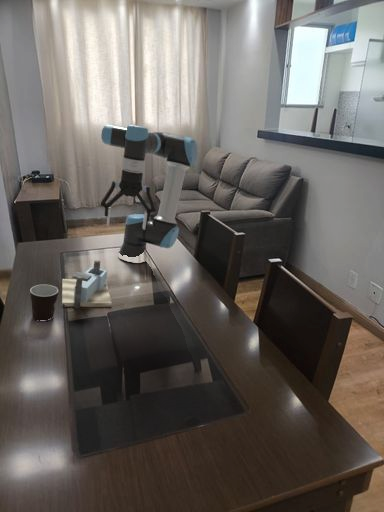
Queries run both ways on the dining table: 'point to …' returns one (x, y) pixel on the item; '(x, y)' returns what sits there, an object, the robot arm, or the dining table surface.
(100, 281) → the link
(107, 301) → the pintle plate
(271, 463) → the dining table surface
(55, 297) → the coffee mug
